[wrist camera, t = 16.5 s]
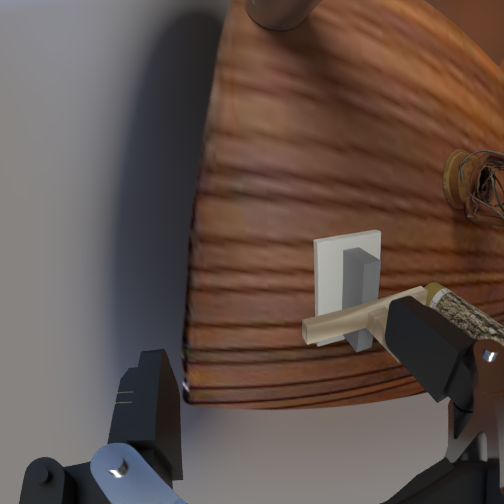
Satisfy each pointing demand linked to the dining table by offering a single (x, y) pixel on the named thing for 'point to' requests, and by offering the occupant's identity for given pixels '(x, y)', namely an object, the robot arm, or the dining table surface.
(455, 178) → the lantern
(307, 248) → the dining table surface
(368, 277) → the ridge stand
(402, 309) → the robot arm
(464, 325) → the bark print canister
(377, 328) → the birch T-bar
